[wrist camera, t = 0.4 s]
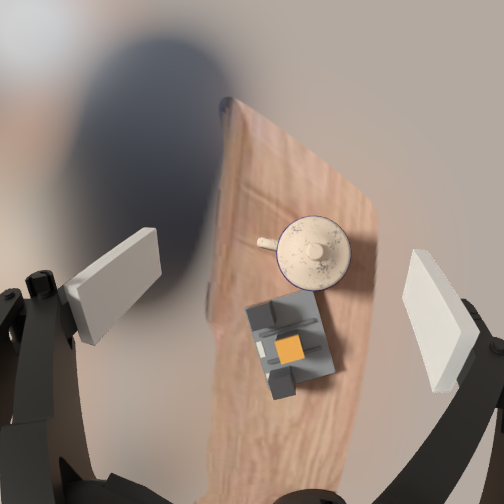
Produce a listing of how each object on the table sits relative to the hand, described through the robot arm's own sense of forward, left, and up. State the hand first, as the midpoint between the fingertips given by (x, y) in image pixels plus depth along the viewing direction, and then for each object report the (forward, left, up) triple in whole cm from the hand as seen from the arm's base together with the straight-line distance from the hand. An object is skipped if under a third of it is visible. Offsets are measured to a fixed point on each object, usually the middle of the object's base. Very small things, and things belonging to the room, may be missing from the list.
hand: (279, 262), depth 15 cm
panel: (-10, +3, -31) cm, 33 cm away
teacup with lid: (+2, -2, -31) cm, 31 cm away
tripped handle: (-10, +3, -29) cm, 31 cm away
